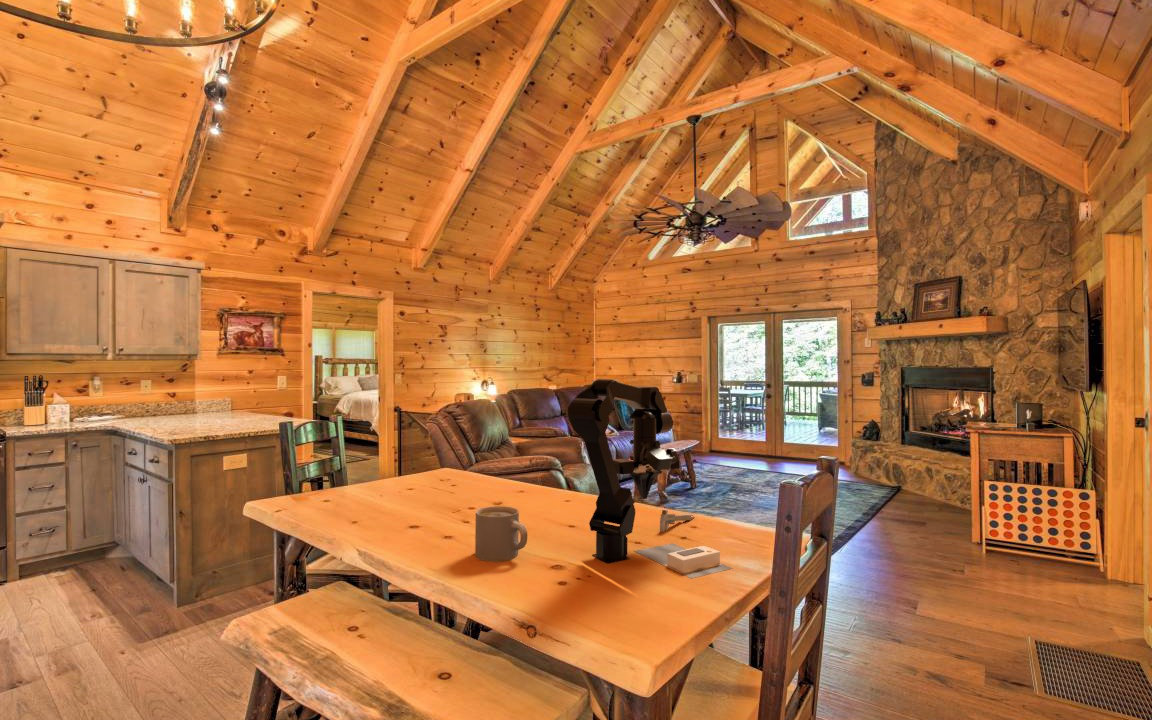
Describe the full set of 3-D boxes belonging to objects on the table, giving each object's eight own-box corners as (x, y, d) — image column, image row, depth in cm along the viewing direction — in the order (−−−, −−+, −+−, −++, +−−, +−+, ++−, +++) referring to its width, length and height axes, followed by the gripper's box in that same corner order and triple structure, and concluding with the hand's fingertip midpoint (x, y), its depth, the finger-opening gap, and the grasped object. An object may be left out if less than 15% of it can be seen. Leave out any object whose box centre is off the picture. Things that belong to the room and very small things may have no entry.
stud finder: (683, 572, 120) (683, 559, 120) (667, 565, 124) (667, 552, 124) (719, 562, 126) (720, 550, 126) (703, 556, 130) (703, 544, 130)
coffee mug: (466, 554, 132) (467, 511, 132) (500, 544, 139) (501, 504, 139) (502, 568, 122) (503, 522, 123) (536, 558, 129) (537, 514, 130)
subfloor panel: (691, 580, 117) (691, 578, 117) (633, 552, 134) (633, 550, 134) (733, 570, 123) (733, 568, 123) (672, 545, 140) (672, 543, 140)
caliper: (663, 535, 149) (663, 511, 149) (659, 534, 150) (659, 510, 150) (694, 519, 166) (695, 497, 166) (691, 518, 166) (691, 496, 167)
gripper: (633, 442, 130) (633, 510, 130) (694, 437, 140) (694, 501, 140) (606, 436, 140) (606, 500, 140) (665, 433, 149) (665, 492, 149)
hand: (644, 498), depth 142 cm, fingers closed
